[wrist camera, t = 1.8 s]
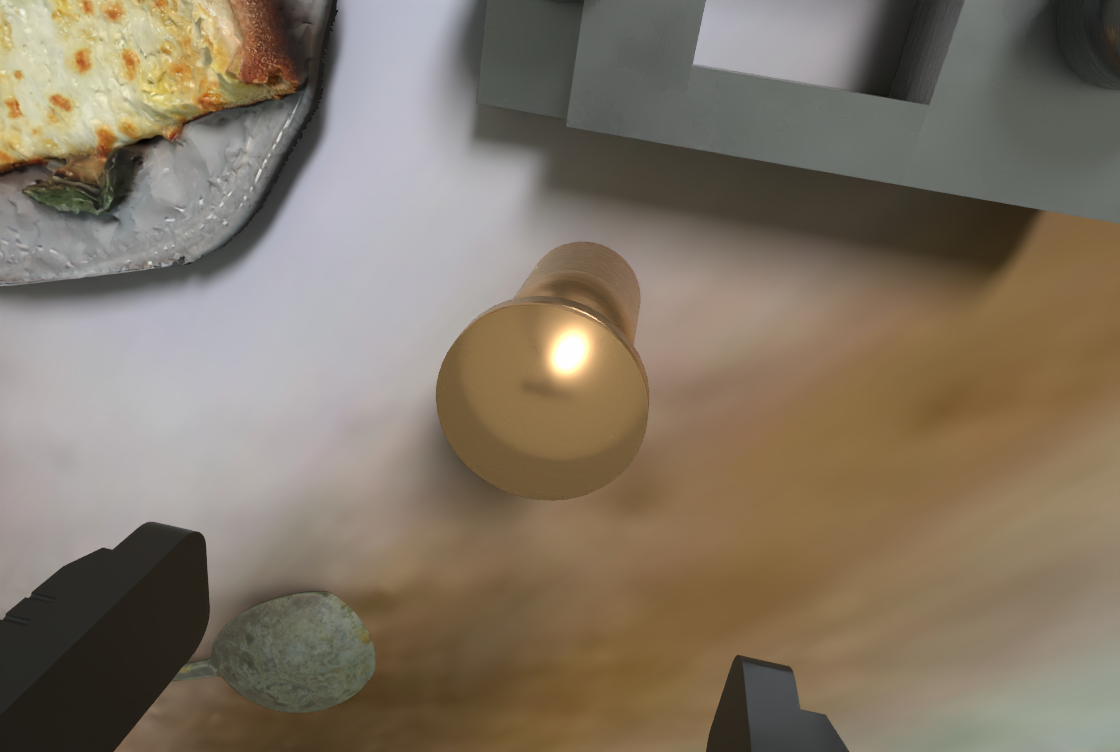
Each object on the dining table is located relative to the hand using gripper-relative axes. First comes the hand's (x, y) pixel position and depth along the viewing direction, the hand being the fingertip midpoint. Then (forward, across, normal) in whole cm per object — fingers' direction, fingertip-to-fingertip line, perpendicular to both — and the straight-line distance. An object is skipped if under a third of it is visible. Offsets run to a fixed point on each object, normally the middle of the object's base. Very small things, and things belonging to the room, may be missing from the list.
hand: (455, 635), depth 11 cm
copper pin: (+17, 0, 0) cm, 17 cm away
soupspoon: (+17, +17, +22) cm, 33 cm away
